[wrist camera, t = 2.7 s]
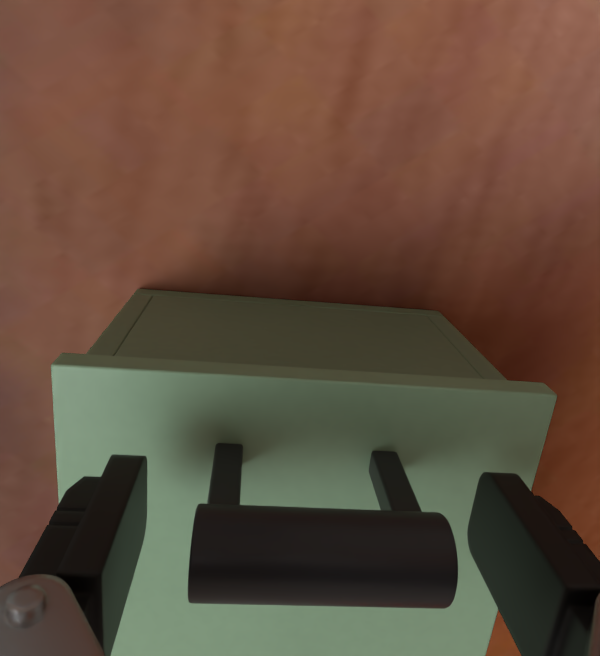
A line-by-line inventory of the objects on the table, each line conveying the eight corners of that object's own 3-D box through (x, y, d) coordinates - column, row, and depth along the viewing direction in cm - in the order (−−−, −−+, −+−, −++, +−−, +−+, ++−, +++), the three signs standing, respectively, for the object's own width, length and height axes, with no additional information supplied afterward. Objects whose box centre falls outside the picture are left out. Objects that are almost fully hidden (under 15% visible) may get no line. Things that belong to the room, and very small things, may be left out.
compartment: (137, 287, 22) (63, 380, 14) (438, 310, 23) (536, 407, 15) (137, 574, 27) (82, 769, 19) (388, 580, 28) (440, 766, 20)
